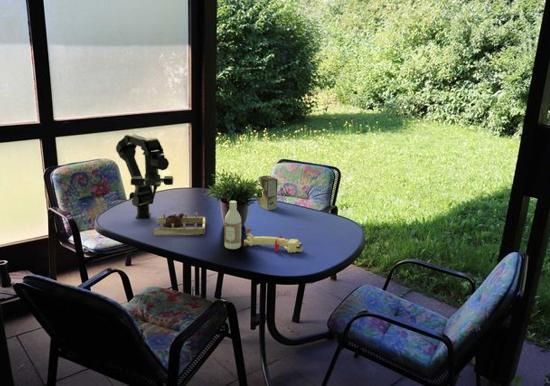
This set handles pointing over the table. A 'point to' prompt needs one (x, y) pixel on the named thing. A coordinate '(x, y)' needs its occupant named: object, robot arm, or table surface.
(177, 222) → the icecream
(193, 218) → the dish rack
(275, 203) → the coffee box
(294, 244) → the yellow toy animal
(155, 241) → the table surface
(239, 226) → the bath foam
